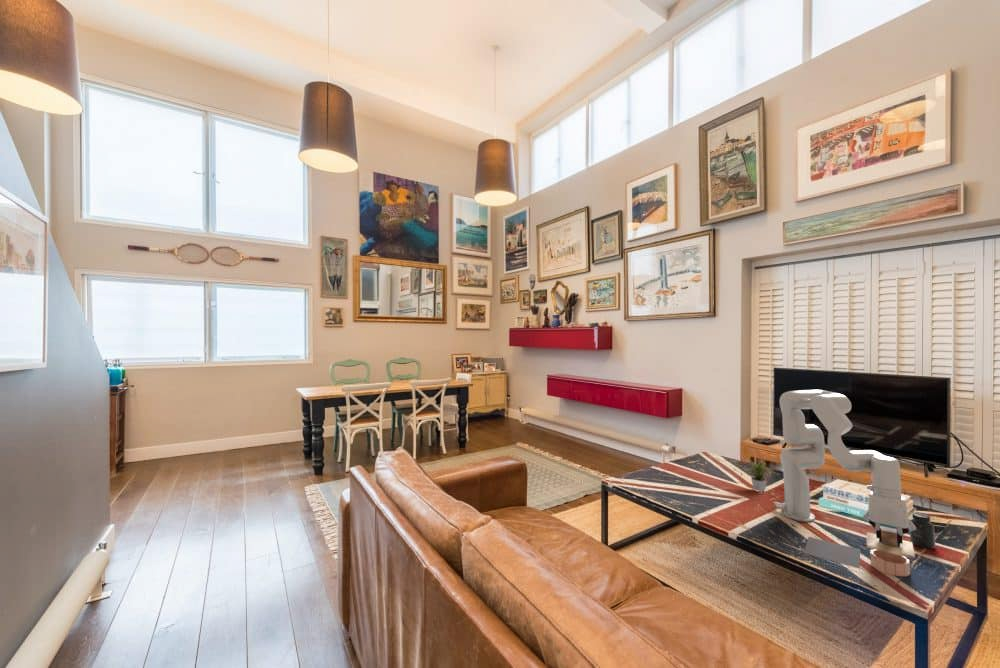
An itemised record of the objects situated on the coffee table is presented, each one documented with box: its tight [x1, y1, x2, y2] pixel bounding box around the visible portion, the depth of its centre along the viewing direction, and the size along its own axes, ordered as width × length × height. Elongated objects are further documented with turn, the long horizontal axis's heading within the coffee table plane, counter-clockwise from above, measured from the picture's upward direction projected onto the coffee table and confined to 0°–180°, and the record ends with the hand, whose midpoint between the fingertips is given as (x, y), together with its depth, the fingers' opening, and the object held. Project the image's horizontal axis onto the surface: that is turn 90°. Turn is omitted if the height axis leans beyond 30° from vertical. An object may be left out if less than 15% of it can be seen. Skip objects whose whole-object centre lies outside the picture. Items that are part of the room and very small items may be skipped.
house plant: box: [744, 458, 773, 491], centre depth 217 cm, size 14×14×16 cm
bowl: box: [870, 549, 911, 577], centre depth 142 cm, size 10×10×5 cm
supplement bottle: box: [909, 511, 936, 550], centre depth 157 cm, size 7×7×12 cm
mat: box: [803, 536, 861, 569], centre depth 154 cm, size 16×16×1 cm
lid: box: [866, 525, 916, 560], centre depth 142 cm, size 12×12×6 cm
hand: (889, 542), depth 142 cm, fingers closed on lid, 4 cm apart
